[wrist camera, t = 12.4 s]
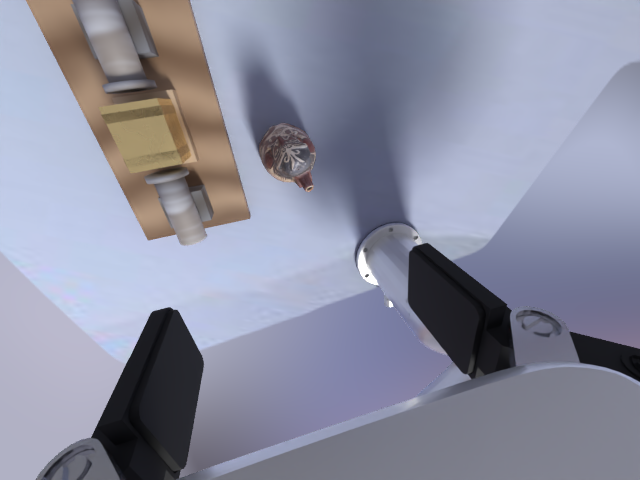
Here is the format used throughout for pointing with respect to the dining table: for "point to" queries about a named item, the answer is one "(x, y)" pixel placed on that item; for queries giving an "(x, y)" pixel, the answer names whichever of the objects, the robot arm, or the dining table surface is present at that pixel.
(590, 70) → the dining table surface
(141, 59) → the shaft jig
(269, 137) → the figurine
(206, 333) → the dining table surface
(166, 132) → the block
